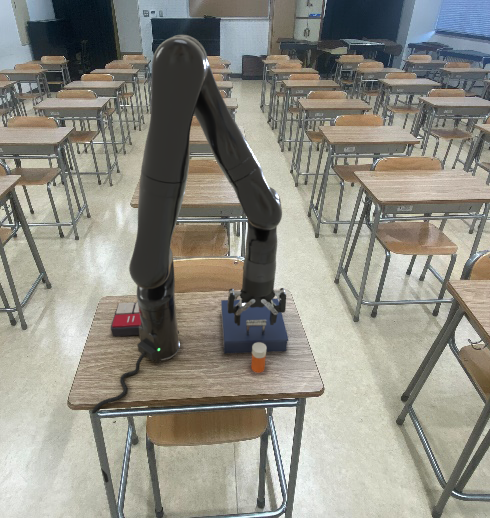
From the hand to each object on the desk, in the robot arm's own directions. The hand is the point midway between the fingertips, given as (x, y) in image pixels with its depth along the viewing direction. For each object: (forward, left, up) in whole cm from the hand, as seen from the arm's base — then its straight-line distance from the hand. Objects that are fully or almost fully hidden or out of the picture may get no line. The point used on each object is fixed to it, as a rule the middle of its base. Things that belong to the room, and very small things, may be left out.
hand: (254, 323), depth 101 cm
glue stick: (-5, -5, -10) cm, 12 cm away
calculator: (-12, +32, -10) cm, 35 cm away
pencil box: (+5, +4, -10) cm, 12 cm away
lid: (+5, +4, -5) cm, 7 cm away
